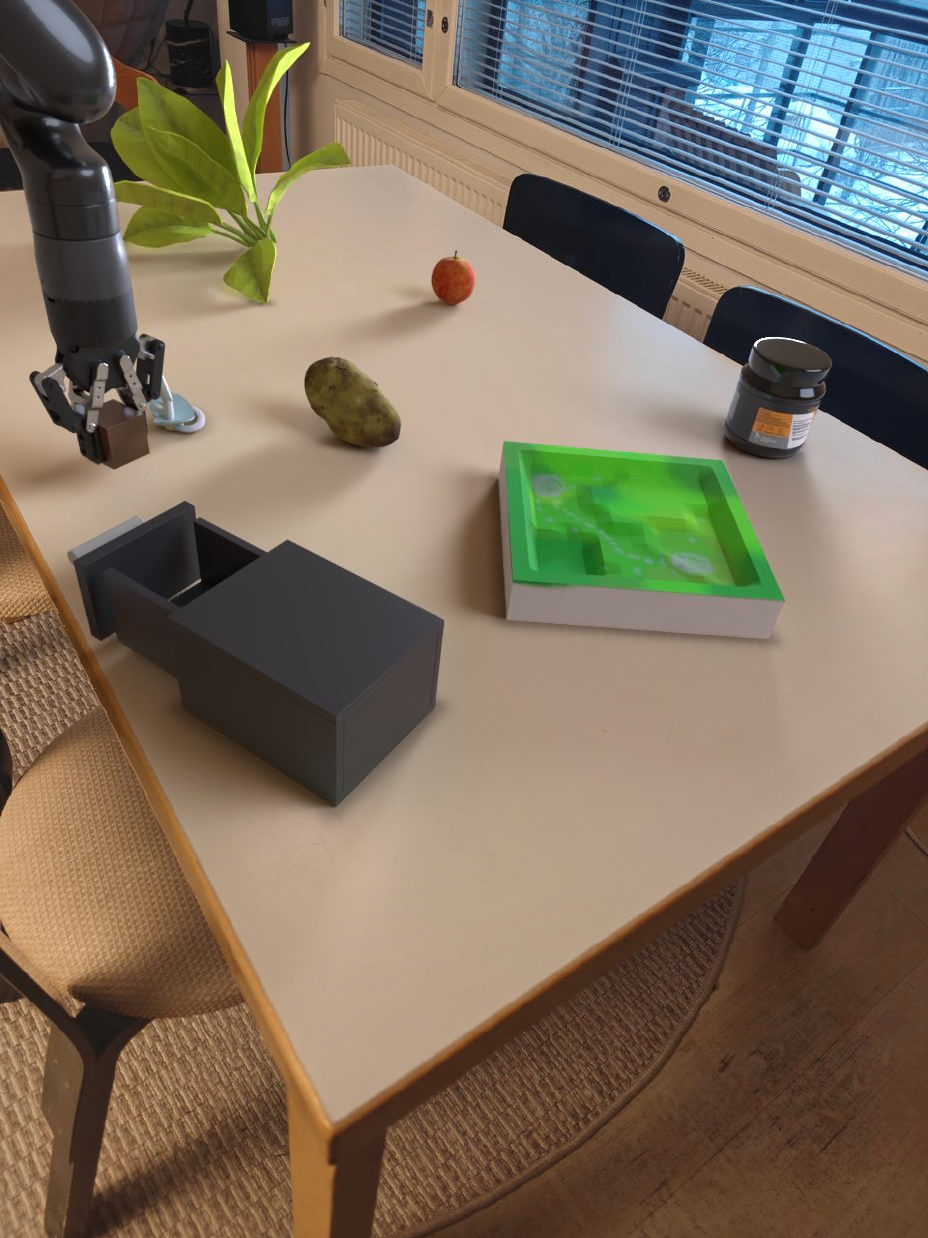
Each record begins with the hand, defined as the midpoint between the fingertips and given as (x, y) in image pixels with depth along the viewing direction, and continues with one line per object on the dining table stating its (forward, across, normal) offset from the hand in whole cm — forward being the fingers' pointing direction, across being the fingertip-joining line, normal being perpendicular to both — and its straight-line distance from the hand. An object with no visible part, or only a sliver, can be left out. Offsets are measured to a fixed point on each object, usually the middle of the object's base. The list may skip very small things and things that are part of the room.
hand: (116, 450), depth 87 cm
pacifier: (+4, -13, -6) cm, 15 cm away
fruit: (+4, -69, -5) cm, 70 cm away
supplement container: (+4, -60, +50) cm, 78 cm away
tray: (+5, -25, +46) cm, 53 cm away
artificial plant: (+4, -55, -42) cm, 70 cm away
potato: (+4, -25, +10) cm, 27 cm away
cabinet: (+5, +12, +36) cm, 38 cm away
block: (0, 0, 0) cm, 0 cm away
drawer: (+4, +12, +22) cm, 25 cm away
